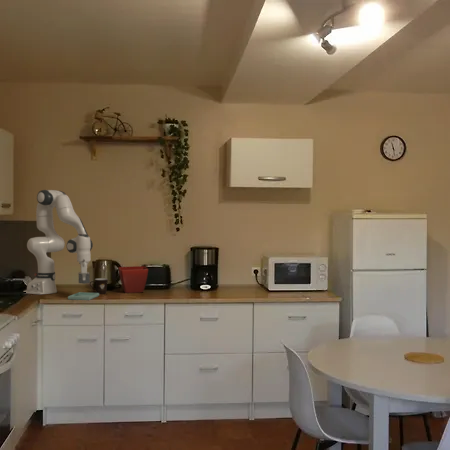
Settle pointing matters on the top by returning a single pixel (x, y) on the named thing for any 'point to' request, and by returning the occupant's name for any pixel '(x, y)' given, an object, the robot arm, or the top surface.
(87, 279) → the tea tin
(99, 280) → the coffee mug
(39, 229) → the robot arm
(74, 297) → the tray
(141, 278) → the plant pot
